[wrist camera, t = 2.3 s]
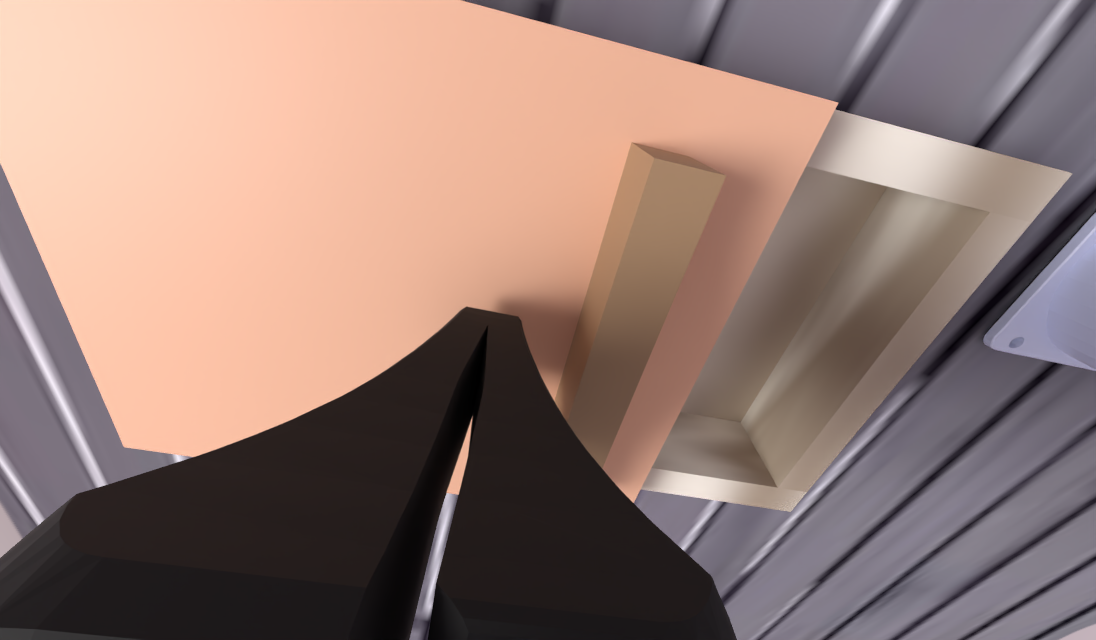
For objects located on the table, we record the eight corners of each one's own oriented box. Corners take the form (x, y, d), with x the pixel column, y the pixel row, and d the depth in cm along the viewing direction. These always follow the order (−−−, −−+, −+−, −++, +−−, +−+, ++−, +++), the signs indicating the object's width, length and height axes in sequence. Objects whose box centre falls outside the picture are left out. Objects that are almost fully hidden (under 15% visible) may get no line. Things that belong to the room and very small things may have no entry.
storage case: (932, 149, 13) (1072, 173, 10) (747, 435, 19) (790, 511, 16) (430, 17, 11) (377, -14, 8) (408, 377, 18) (374, 449, 14)
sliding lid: (809, 100, 8) (923, 107, 6) (621, 493, 15) (636, 579, 12) (-53, -131, 7) (-425, -266, 4) (152, 423, 13) (54, 505, 11)
